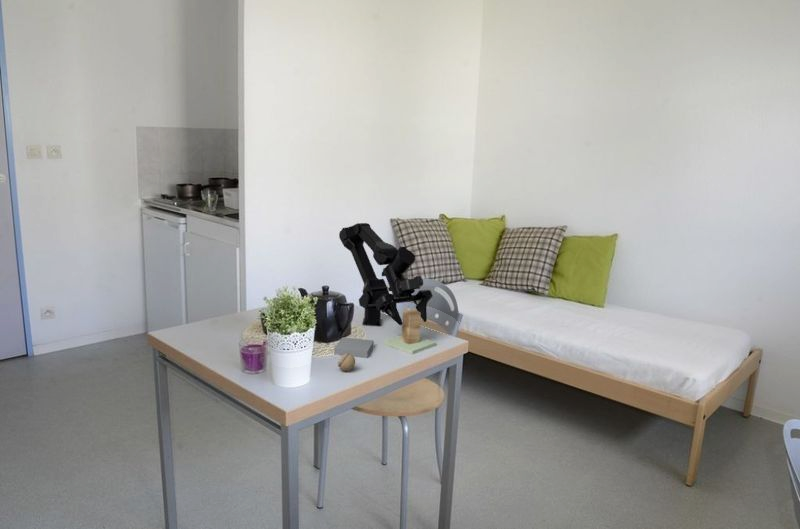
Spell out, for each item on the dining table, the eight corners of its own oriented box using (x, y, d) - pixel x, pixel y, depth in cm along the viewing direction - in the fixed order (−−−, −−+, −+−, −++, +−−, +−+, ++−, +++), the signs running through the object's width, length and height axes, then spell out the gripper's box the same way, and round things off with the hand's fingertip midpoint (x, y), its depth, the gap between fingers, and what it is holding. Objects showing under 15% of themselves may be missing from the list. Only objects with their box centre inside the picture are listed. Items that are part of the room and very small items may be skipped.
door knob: (350, 366, 173) (351, 349, 172) (357, 372, 168) (358, 355, 167) (334, 368, 170) (334, 351, 169) (341, 374, 166) (342, 357, 165)
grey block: (342, 343, 191) (342, 337, 190) (373, 346, 189) (373, 340, 189) (334, 354, 181) (334, 347, 180) (367, 357, 180) (367, 351, 179)
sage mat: (383, 343, 192) (383, 340, 192) (407, 335, 201) (407, 332, 201) (412, 354, 185) (412, 351, 184) (436, 345, 194) (436, 342, 193)
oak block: (401, 340, 193) (403, 310, 191) (411, 338, 195) (413, 309, 193) (408, 344, 190) (410, 313, 188) (418, 342, 192) (420, 312, 190)
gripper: (382, 269, 186) (399, 314, 179) (431, 265, 196) (449, 307, 189) (368, 288, 194) (384, 331, 187) (416, 283, 204) (433, 324, 197)
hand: (413, 323), depth 190 cm, fingers open, 9 cm apart
